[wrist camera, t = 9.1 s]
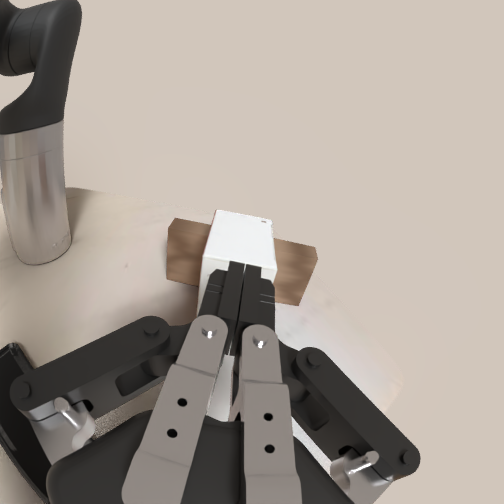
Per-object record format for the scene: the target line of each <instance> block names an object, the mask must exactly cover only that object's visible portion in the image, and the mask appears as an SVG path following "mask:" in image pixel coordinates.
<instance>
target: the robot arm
mask: <svg viewBox="0 0 504 504" xmlns="http://www.w3.org/2000/svg"><path fill="white" fill-rule="evenodd" d="M81 19H82V11H81V6H80V4H79V2H78V1H77V0H56V1H52V2H47V3H44V4H40V5H36V6H33V7H30V8H26V9H20V8H17V7H15V6H14V5H12V4H11V3H10V2H9V0H0V74H1V75H4V76H18V75H22V74H26V73H31V72H34V76H33V79H32V82H31V84H30V86H29V87H28V88H27V89H26V90H25V91H24V93H23V94H22V95H20V96H19V97H18V98H17V99H16V100H14V101H13V102H12V103H10V104H9V105H7V106H6V107H4V108H3V109H2V110H1V112H0V170H1V178H2V185H3V188H2V189H1V197H2V203H3V208H4V213H5V218H6V223H7V227H8V231H9V235H10V239H11V243H12V246H13V250H14V251H16V252H17V255H18V257H19V259H20V260H21V261H22V262H24V263H26V264H32V265H35V264H43V263H47V262H50V261H52V260H54V259H56V258H58V257H59V256H61V255H62V254H63V253H64V252H66V250H67V249H68V248H69V246H70V244H71V235H70V228H69V221H68V212H67V203H66V193H65V181H64V159H63V124H64V120H63V118H64V107H65V102H66V97H67V91H68V84H69V77H70V71H71V66H72V61H73V57H74V52H75V48H76V45H77V40H78V36H79V32H80V26H81ZM244 268H245V271H244ZM261 271H262V267H260V266H255V265H250V264H246V266H245V263H240V262H235V261H230V262H229V266H228V271H225V270H220V269H216V270H215V271H213V272H212V273H211V274H210V276H209V279H208V283H207V286H206V290H205V293H204V296H203V299H202V303H201V306H200V310H199V313H198V316H197V317H196V319H194V321H192V322H191V323H189V324H186V325H182V326H169V325H168V323H167V322H166V321H165V320H163V319H162V318H160V317H156V316H146V317H143V318H141V319H139V320H136V321H134V322H132V323H130V324H128V325H126V326H124V327H122V328H120V329H118V330H116V331H114V332H112V333H110V334H108V335H106V336H103V337H101V338H99V339H97V340H95V341H93V342H91V343H89V344H87V345H85V346H83V347H81V348H78V349H76V350H74V351H72V352H70V353H68V354H66V355H64V356H62V357H60V358H57V359H55V360H53V361H51V362H49V363H47V364H45V365H43V366H40V367H38V368H36V369H34V370H32V371H30V372H28V373H25V374H23V375H21V376H19V377H17V378H16V379H15V380H14V381H13V383H12V384H11V387H10V398H11V401H12V403H13V405H14V406H15V407H16V408H17V409H18V410H19V411H21V412H22V413H23V414H24V416H25V417H26V418H27V419H28V420H29V421H30V423H31V425H32V427H33V430H34V432H35V434H36V436H37V438H38V440H39V442H40V444H41V446H42V448H43V450H44V452H45V454H46V456H47V457H48V459H49V461H50V463H51V465H52V466H51V468H50V469H49V471H48V474H47V478H46V488H47V493H48V497H49V500H50V503H51V504H373V503H374V502H375V501H376V500H377V499H378V498H379V496H380V495H381V494H382V493H383V492H384V491H385V490H386V489H387V488H388V486H389V485H390V484H391V483H392V482H393V481H395V480H397V479H400V478H403V477H406V476H408V475H410V474H412V473H414V472H415V471H416V470H417V468H418V467H419V464H420V453H419V451H418V449H417V448H416V447H415V446H414V445H413V444H412V443H411V442H410V441H409V440H408V439H407V438H406V437H405V436H404V435H403V434H402V432H400V430H399V429H398V428H396V427H395V425H394V424H393V423H392V422H391V421H390V420H389V419H388V418H387V417H386V416H385V415H384V414H383V413H382V412H381V411H380V410H379V409H378V408H377V407H376V406H375V405H374V404H373V403H372V402H371V401H370V400H369V399H368V398H367V397H366V396H365V395H364V394H363V393H362V391H361V390H360V389H359V388H358V387H357V386H356V385H355V384H354V383H353V382H352V381H351V380H350V379H349V378H348V377H347V376H346V375H345V374H344V373H343V372H342V371H341V370H340V368H339V367H338V366H337V365H336V364H335V363H334V362H333V361H332V360H331V359H330V358H329V357H328V356H327V355H326V354H325V353H324V352H323V351H321V350H320V349H317V348H314V347H306V348H303V349H301V350H300V351H298V350H295V349H293V348H291V347H288V346H286V345H285V344H283V343H282V342H281V341H280V340H279V339H278V337H277V335H276V333H275V287H274V285H273V283H272V282H271V280H269V279H264V278H261ZM231 341H232V342H231ZM230 345H231V348H230ZM229 349H230V355H231V356H235V358H234V365H233V368H232V372H231V395H230V412H229V418H228V422H222V421H218V420H216V419H214V418H211V417H209V416H207V414H208V410H209V406H210V402H211V398H212V395H213V391H214V387H215V384H216V380H217V376H218V372H219V369H220V367H221V366H222V362H223V358H224V354H225V355H228V353H229ZM163 380H165V381H164V384H163V387H162V389H161V392H160V394H159V397H158V399H157V402H156V404H155V407H154V410H149V411H145V412H142V413H139V414H137V415H135V416H133V417H131V418H130V419H128V420H127V421H125V422H124V423H122V424H120V425H119V426H117V427H116V428H114V429H112V430H111V431H109V432H107V433H106V434H104V435H102V436H101V437H99V438H97V439H96V440H94V441H92V442H90V443H89V444H87V445H85V446H83V445H84V443H85V442H86V440H87V439H89V438H90V437H91V436H92V435H93V434H94V432H95V429H96V423H95V419H97V418H99V417H101V416H103V415H105V414H107V413H108V412H110V411H112V410H114V409H116V408H117V407H119V406H121V405H123V404H124V403H126V402H128V401H130V400H131V399H133V398H135V397H137V396H138V395H140V394H142V393H143V392H145V391H147V390H149V389H150V388H152V387H154V386H155V385H157V384H159V383H160V382H162V381H163ZM291 416H292V417H293V418H294V419H295V421H296V422H297V423H298V424H299V425H300V427H301V428H302V429H303V430H304V431H305V432H306V434H307V435H308V436H309V437H310V438H311V439H312V440H313V442H314V443H315V444H316V445H317V446H318V447H319V448H320V449H321V450H322V452H323V453H324V454H325V455H326V456H327V457H328V458H329V459H330V460H331V461H332V463H331V466H330V475H331V477H332V478H333V479H332V478H331V477H330V476H329V474H328V473H327V472H326V471H325V470H324V469H323V467H322V466H321V465H320V464H319V463H318V461H317V460H316V459H315V458H314V457H313V455H312V454H311V453H310V452H309V451H308V449H307V448H306V447H305V446H304V445H303V443H302V442H300V441H299V440H298V439H297V438H296V437H294V436H293V430H292V419H291Z"/></svg>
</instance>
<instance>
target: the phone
mask: <svg viewBox="0 0 504 504" xmlns="http://www.w3.org/2000/svg"><path fill="white" fill-rule="evenodd" d="M32 370H34V369H33V367H32V366H31V364H30V363H29V361H28V360H27V358H26V357H25V355H24V353H23V352H22V350H21V349H20V347H19V346H18V345H17V344H16V343H10V344H8V345H6V346H5V347H4V348H2V349H1V350H0V444H1V445H2V447H3V449H4V450H5V452H6V453H7V455H8V456H9V458H10V459H11V461H12V462H13V463H14V465H15V466H16V468H17V469H18V470H19V472H20V473H21V474H22V476H23V477H24V478H25V480H26V481H27V482H28V483H29V485H30V486H31V487H32V488H33V490H34V491H35V492H36V493H37V494H38V495H39V497H40V498H41V499H42V500H43V501H44V502H45V503H46V504H51V503H50V500H49V497H48V493H47V488H46V478H47V474H48V471H49V469H50V468H51V466H52V465H51V463H50V461H49V459H48V457H47V456H46V454H45V452H44V450H43V448H42V446H41V444H40V442H39V440H38V438H37V436H36V434H35V432H34V430H33V427H32V425H31V423H30V421H29V420H28V419H27V418H26V417H25V416H24V414H23V413H22V412H21V411H19V410H18V409H17V408H16V407H15V406H14V405H13V403H12V401H11V398H10V387H11V384H12V383H13V381H14V380H15V379H16V378H17V377H19V376H21V375H23V374H25V373H28V372H30V371H32ZM92 441H94V440H93V439H92V438H91V437H90V438H89V439H87V440H86V442H85V443H84V445H83V446H85V445H87V444H89V443H90V442H92Z"/></svg>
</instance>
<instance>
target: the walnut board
mask: <svg viewBox="0 0 504 504" xmlns="http://www.w3.org/2000/svg"><path fill="white" fill-rule="evenodd" d="M210 228H211V225H208V224H203V223H198V222H193V221H188V220H183V219H178V218H175V219H174V220H173V222H172V223H171V225H170V226H169V228H168V245H167V279H168V280H172V281H176V282H181V283H185V284H190V285H194V286H199V281H200V272H201V262H202V255H203V252H204V248H205V245H206V242H207V238H208V235H209V231H210ZM273 240H274V249H275V258H276V264H277V273H276V276H275V279H274V282H273V285H274V287H275V302H278V303H284V304H289V305H295V306H299V303H300V301H301V299H302V296H303V294H304V292H305V289H306V287H307V285H308V282H309V280H310V277H311V275H312V273H313V270H314V268H315V265H316V262H317V260H318V257H317V253H316V249H315V247H312V246H307V245H303V244H298V243H293V242H289V241H285V240H280V239H275V238H273Z"/></svg>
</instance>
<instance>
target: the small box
mask: <svg viewBox="0 0 504 504" xmlns="http://www.w3.org/2000/svg"><path fill="white" fill-rule="evenodd" d="M272 225H273V222H272V220H269V219H265V218H260V217H255V216H249V215H244V214H239V213H234V212H229V211H223V210H216V211H215V214H214V218H213V221H212V224H211V228H210V231H209V235H208V238H207V242H206V245H205V248H204V252H203V255H202V262H201V272H200V281H199V291H198V303H197V312H196V317H197V316H198V313H199V310H200V306H201V303H202V299H203V296H204V293H205V290H206V286H207V283H208V279H209V276H210V274H211V273H212V272H213V271H215V270H216V269H220V270H225V271H228V266H229V262H230V261H235V262H240V263H245V266H246V264H250V265H255V266H260V267H262V271H261V278H264V279H269V280H271V282H272V283H273V282H274V279H275V276H276V273H277V264H276V258H275V249H274V240H273V227H272ZM244 271H245V268H244ZM231 342H232V341H231ZM230 348H231V345H230Z"/></svg>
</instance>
